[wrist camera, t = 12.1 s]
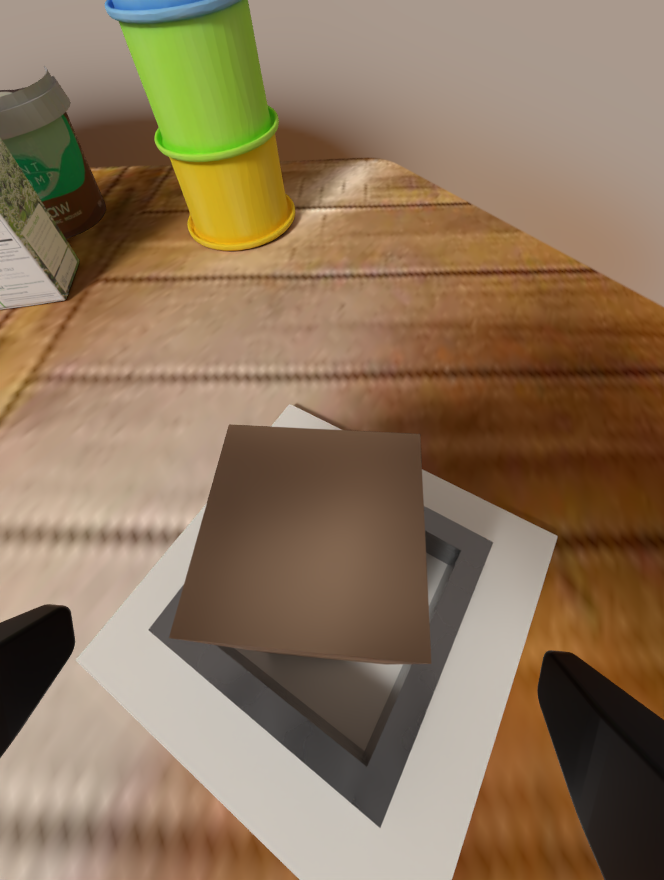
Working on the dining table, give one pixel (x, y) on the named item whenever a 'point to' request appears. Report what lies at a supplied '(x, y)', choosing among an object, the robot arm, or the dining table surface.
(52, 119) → the food container
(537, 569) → the mat
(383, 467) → the walnut block
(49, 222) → the syrup box
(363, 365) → the dining table surface
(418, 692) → the collar
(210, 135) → the stacking cups
